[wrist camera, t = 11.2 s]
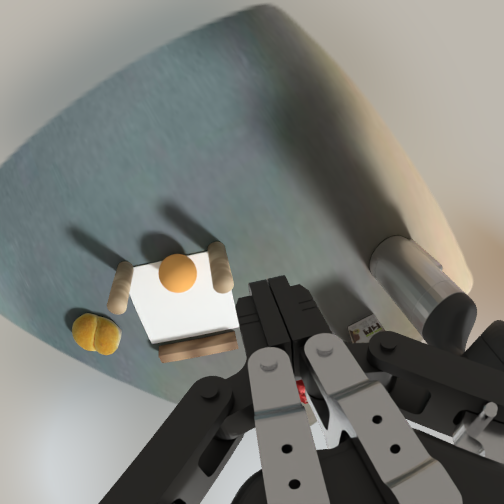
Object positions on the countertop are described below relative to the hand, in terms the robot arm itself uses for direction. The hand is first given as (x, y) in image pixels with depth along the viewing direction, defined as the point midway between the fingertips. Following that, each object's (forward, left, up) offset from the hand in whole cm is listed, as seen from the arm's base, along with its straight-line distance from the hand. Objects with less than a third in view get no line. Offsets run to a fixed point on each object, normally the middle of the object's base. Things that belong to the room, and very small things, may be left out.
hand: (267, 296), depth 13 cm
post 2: (+2, +15, -31) cm, 34 cm away
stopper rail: (+9, +33, -31) cm, 46 cm away
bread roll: (+26, +26, -32) cm, 48 cm away
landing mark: (+9, +23, -31) cm, 40 cm away
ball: (+8, +16, -28) cm, 33 cm away
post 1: (+16, +15, -31) cm, 38 cm away
